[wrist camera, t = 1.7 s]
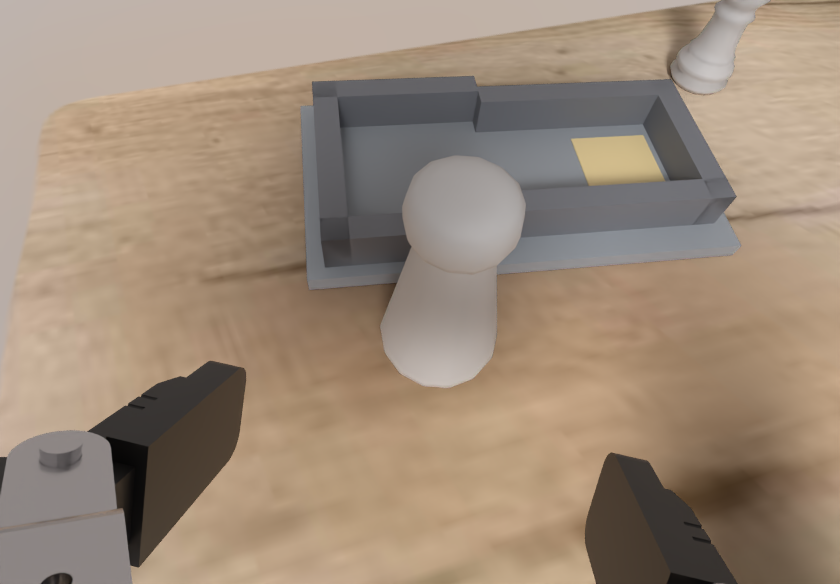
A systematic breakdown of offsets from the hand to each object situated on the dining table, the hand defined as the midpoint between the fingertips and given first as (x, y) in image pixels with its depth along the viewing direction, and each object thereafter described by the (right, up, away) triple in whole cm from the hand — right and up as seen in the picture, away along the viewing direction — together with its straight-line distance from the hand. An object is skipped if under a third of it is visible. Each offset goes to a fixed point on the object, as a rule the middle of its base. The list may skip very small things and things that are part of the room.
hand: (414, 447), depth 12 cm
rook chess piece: (+22, +20, +31) cm, 43 cm away
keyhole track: (+6, +11, +24) cm, 27 cm away
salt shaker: (+1, 0, +18) cm, 18 cm away
